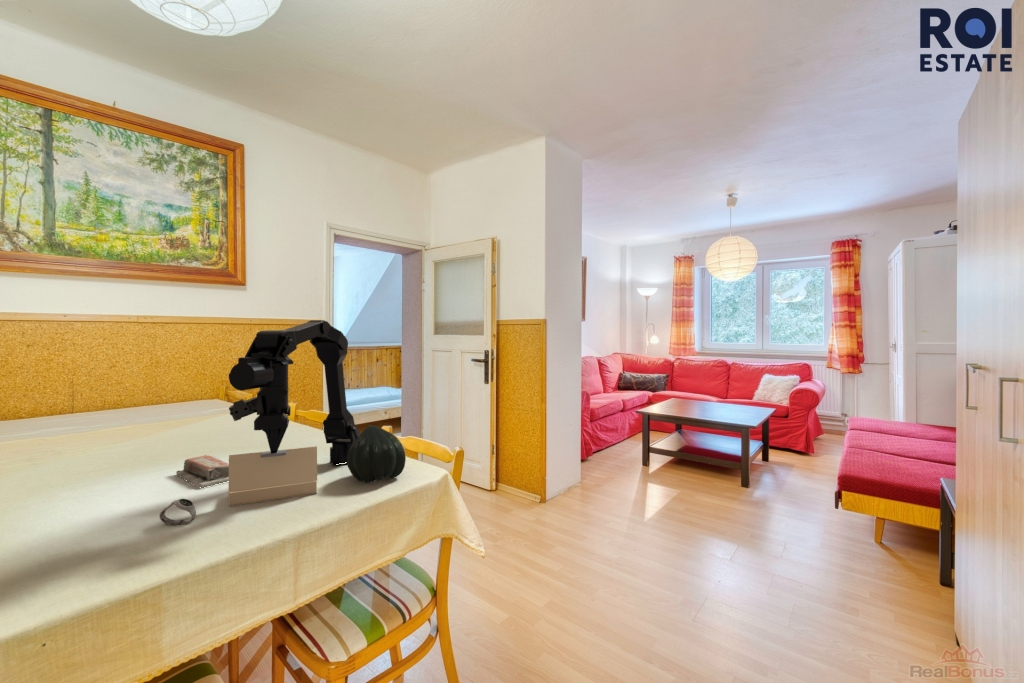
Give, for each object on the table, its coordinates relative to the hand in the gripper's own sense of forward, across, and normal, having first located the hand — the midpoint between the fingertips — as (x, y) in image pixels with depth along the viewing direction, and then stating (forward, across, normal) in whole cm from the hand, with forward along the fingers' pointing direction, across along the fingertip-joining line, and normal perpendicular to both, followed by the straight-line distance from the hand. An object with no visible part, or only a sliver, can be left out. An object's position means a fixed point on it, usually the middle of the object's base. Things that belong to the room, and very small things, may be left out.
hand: (273, 453), depth 96 cm
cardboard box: (+12, -7, 0) cm, 14 cm away
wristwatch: (+12, +2, -17) cm, 21 cm away
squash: (+12, -9, +24) cm, 28 cm away
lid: (+5, -4, 0) cm, 6 cm away
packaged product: (+12, -29, -17) cm, 36 cm away
